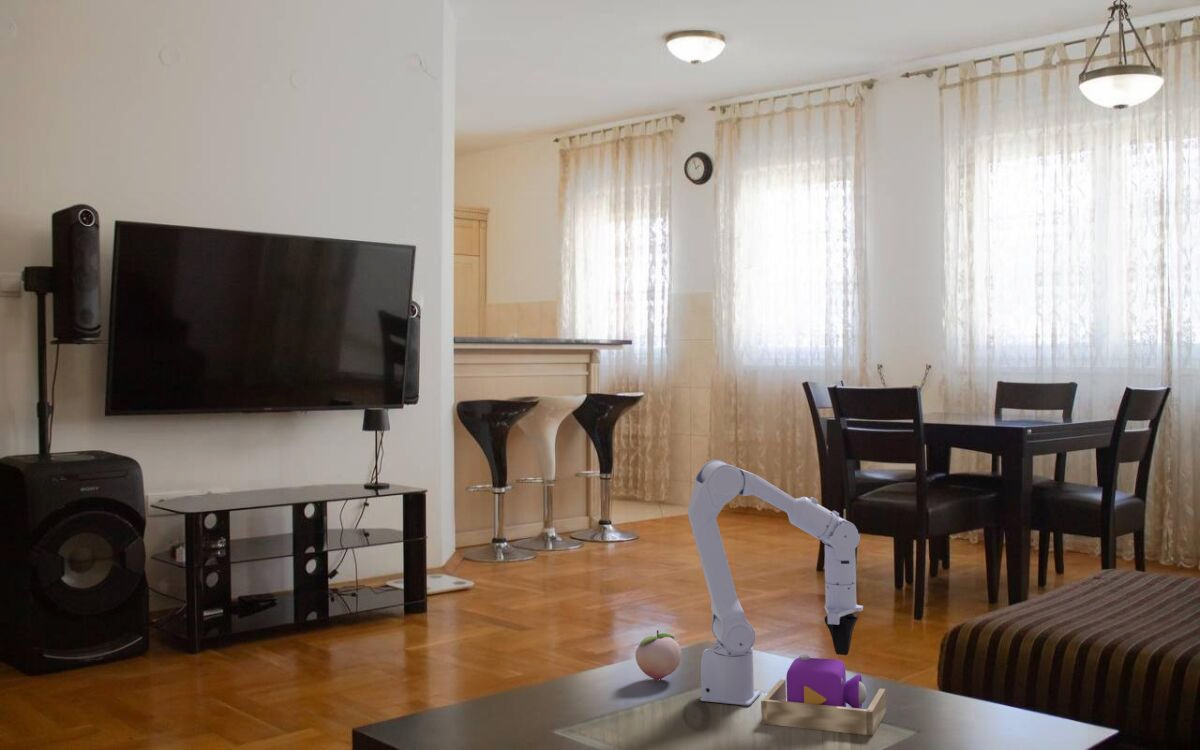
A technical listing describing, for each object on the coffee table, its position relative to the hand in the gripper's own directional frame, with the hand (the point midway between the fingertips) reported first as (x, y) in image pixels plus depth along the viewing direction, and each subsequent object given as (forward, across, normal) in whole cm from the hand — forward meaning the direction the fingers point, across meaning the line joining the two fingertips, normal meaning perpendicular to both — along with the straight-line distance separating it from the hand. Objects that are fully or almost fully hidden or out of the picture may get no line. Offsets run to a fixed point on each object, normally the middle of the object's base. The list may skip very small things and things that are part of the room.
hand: (842, 653), depth 210 cm
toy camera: (+7, -16, 0) cm, 18 cm away
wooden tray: (+7, -16, 0) cm, 18 cm away
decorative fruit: (+7, -5, +35) cm, 36 cm away
